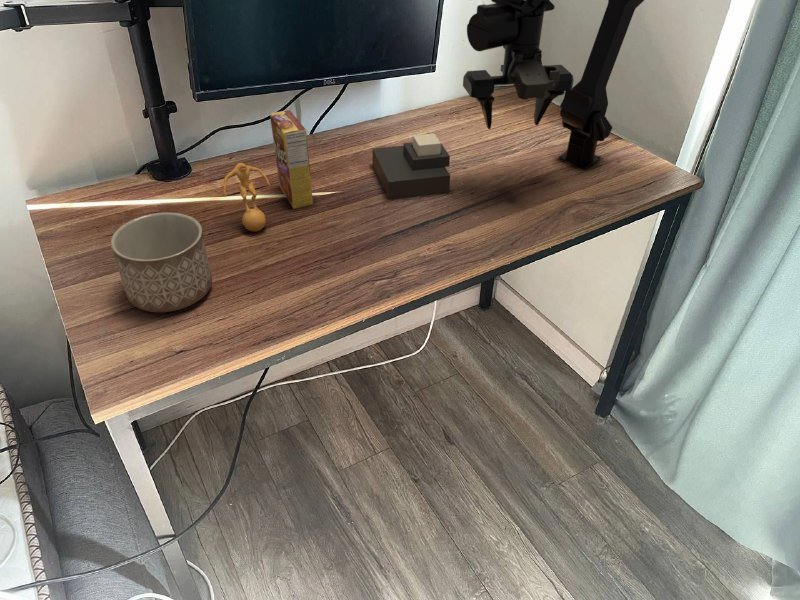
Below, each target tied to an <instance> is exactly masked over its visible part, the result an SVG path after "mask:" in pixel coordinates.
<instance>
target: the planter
mask: <svg viewBox="0 0 800 600" xmlns="http://www.w3.org/2000/svg"><path fill="white" fill-rule="evenodd" d="M110 247H111V250H112V253H113V254H112V255H113V256H114V261H115V263H116V266H117V270H118V274H119V276H120V279H121V282H122V286H123V289H124V292H125V295H126V298H127V300H128V301H129V302H130V304H132V305H133V306H134V307H135V308H137V309H139V310H142V311H145V312H150V313H167V312H168V313H169V312H174V311H180V310H183V309H186V308H188V307H190V306H193V305H195V304H196V303H197V302H199V301H200V300H202V299H203V298H204V297H205V296H206V295H207V293H209V291H210V289H211V287H212V283H213V277H212V272H211V267H210V262H209V257H208V253H207V247H206V243H205V237H204V232H203V228H202V225H201V223H200V222H199V220H197V219H195V218H194V217H192V216H190V215H187V214H183V213H181V212H180V213H179V212H167V211H165V212H156V213H150V214H146V215H142V216H138V217H136V218H133V219H131V220H129V221H127V222H125V223H124V224H123V225H121V226H120V227H119V228H118V229H117V230H115V231H114V233H113V235H112V236H111V239H110Z"/></svg>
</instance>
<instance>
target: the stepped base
mask: <svg viewBox="0 0 800 600" xmlns="http://www.w3.org/2000/svg"><path fill="white" fill-rule="evenodd" d="M371 155H372V167H373V169H374V172H375V174H376V176H377V178H378V180H379V182H380V185H381V186H382V189H383V191H384V193H385V195H386V197H387V200H397V199H406V198H407V199H408V198H414V197H423V196H432V195H441V194H449V193H450V185H451V174H450V172H449V170H448V169H447V167H450V162H451V161H450V159H451V155H450V154H449V153H448V151H447V150H446V148H445V147H444V145H443V144H442V143H441V153H440V154H438V155H428V156H417V154H416V152H415V151H414V149H413V141H412V142H404V143H403V145H396V146H385V147H374V148H372V154H371Z"/></svg>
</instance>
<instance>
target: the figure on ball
mask: <svg viewBox="0 0 800 600" xmlns="http://www.w3.org/2000/svg"><path fill="white" fill-rule="evenodd" d="M251 172H258V173H259V174H260V175H261V177H262V178H263V179H264V180H266V183H267V184H268V186H269V187H270V186H271V183H270V179H268V177H267V176H266V175H265V174H264V173H263V171H262V170H261V168H258V167H255V166H252V165H246V163H243V162H238V163H236V165H235V167H234V168H233V169H232V170H231V171H230V172H229V173H228V174H226V175H225V176H224V179H223V191H222V195H223V197H225V198H227V195H228V193H227V191H226V190H227V187H228V179H230V178H232V177H233V176H235V175H236V177H237V178H238V180H239V181H240V183H239V184H238V185H237V188H238V191H239V194H240V196H241V198H242V202H243V204H244V207H245V212H244V213H243V215H242V219H241V220H242V225H243V227H244V228H245V229H246V230H248V231H250V232H259V231H261V230H262V229H263V228H264V227H265V226H266V222H267V219H266V216H265V213H264V212H263V211H262V210H260V209H259V208H258V206H257V204H256V201H255V200H256V198H257V195H258V194H257V191H256V188H255V186H254V185H255V184H254V182H253V181H252V180H251V181H249V180H250V175H251ZM247 190H248V191H247ZM248 192H249V193H250V194H252V195H251V197H250V198H251V203H252V207H253V208H250V207H249V205H248V202H247V201H248V199H247V194H248Z"/></svg>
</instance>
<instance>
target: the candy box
mask: <svg viewBox="0 0 800 600" xmlns="http://www.w3.org/2000/svg"><path fill="white" fill-rule="evenodd" d="M269 119H270V126H271V133H272V139H273V140H272V141H273V147H274V148H273V149H274V155H275V156H274V157H275V163H276V170H277V177H278V184H279V188H280V190H281V191H282V193H283V194H284V196H285V197H286V199H287V201H288V202H289V204H290V205H291V207H292V209H293V210H297V209H300V208H304V207H308V206H309V207H310V206H313V205H314V200H313V199H314V198H313V188H312V178H311V177H312V176H311V167H310V165H311V164H310V155H309V146H308V135H307V129H306V127H305V126H304V125H303V124H302V123H301V122H300V120H298V118H297V117H296V116H295V115H294V113H293V112H292V110H291V109H287V110H282V111H276V112H272V113H269Z"/></svg>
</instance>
